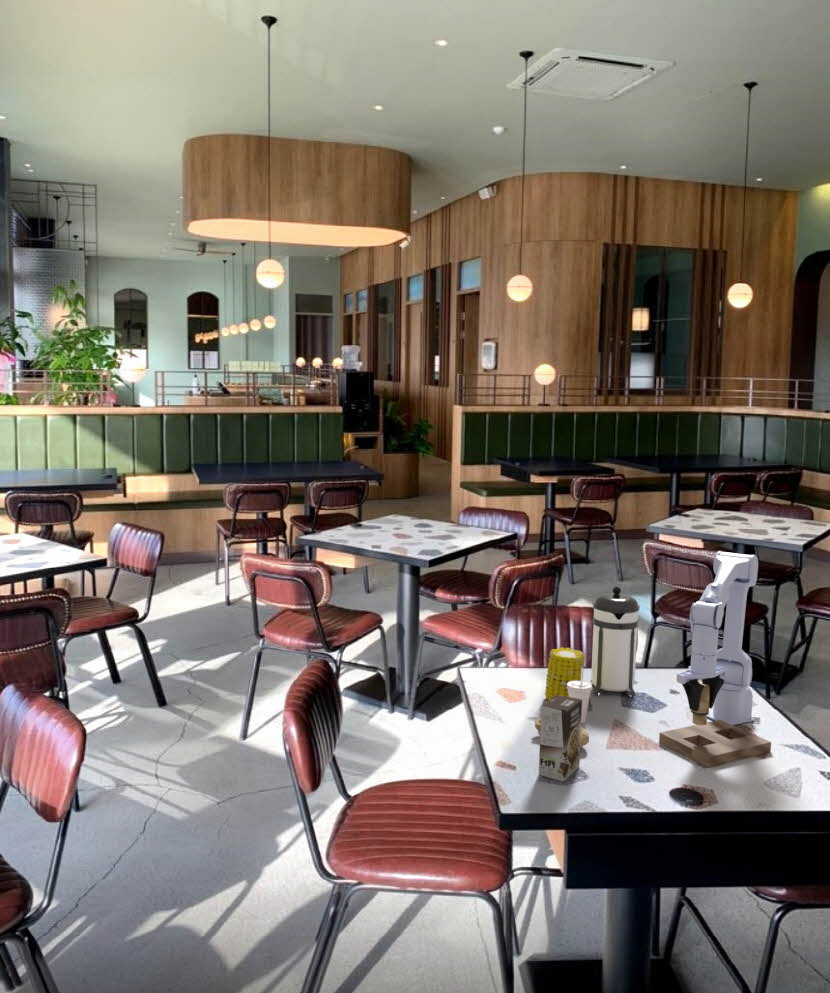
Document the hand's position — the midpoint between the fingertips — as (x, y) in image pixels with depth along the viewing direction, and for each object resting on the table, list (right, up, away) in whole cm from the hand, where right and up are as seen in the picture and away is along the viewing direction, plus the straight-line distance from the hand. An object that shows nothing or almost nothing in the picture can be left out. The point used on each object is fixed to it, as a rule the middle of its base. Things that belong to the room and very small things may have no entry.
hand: (701, 708), depth 215 cm
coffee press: (-12, -5, +45) cm, 46 cm away
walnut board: (+4, -10, +4) cm, 12 cm away
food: (-27, -6, +34) cm, 44 cm away
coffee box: (-35, -12, -11) cm, 39 cm away
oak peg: (0, -4, +1) cm, 4 cm away
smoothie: (-26, -8, +19) cm, 33 cm away
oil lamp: (-32, -10, +5) cm, 34 cm away
